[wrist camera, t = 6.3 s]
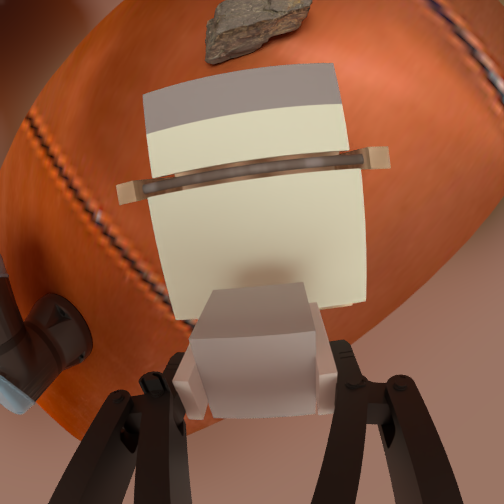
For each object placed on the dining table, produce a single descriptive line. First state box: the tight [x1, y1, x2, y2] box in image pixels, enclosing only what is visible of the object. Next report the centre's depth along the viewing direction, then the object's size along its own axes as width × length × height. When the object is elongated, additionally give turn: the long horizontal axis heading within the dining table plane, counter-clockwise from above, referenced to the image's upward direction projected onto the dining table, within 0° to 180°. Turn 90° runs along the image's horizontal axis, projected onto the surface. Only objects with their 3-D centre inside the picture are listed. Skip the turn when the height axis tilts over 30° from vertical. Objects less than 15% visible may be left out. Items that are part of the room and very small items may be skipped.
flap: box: [143, 63, 366, 320], centre depth 24 cm, size 19×22×4 cm
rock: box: [205, 0, 312, 64], centre depth 25 cm, size 17×7×10 cm
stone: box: [189, 282, 316, 418], centre depth 15 cm, size 6×6×6 cm
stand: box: [116, 147, 391, 310], centre depth 28 cm, size 23×28×14 cm
